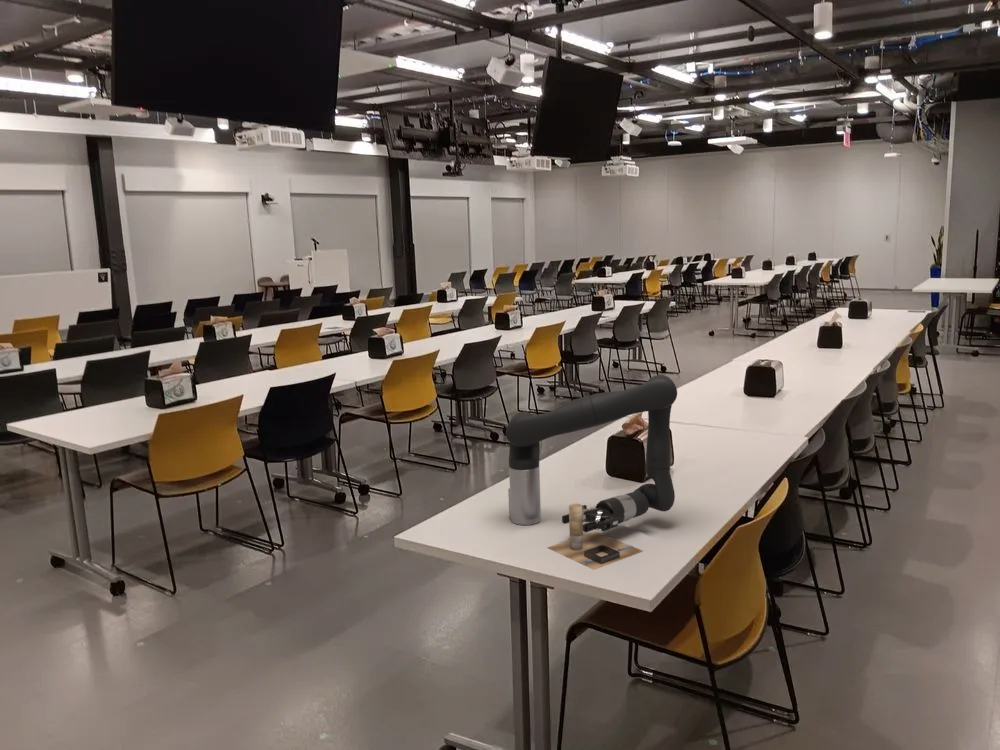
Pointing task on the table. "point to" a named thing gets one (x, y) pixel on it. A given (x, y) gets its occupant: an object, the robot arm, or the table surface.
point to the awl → (576, 526)
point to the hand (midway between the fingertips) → (573, 524)
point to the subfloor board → (591, 542)
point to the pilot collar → (611, 556)
